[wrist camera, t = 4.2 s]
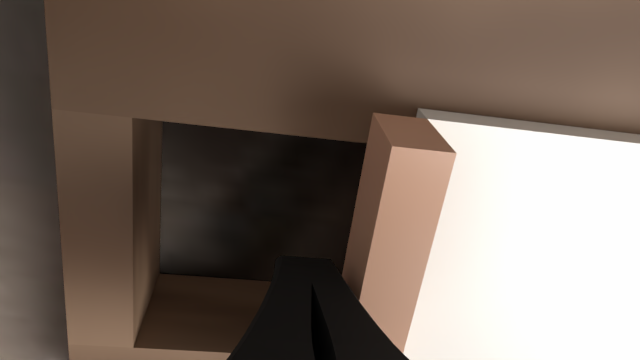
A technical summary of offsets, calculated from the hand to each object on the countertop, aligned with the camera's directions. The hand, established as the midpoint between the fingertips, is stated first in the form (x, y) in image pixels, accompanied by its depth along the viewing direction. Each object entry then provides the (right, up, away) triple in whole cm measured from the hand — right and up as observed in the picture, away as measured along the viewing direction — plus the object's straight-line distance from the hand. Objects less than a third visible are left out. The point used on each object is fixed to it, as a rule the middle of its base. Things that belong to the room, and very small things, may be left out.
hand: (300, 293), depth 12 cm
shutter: (+5, 0, +2) cm, 6 cm away
